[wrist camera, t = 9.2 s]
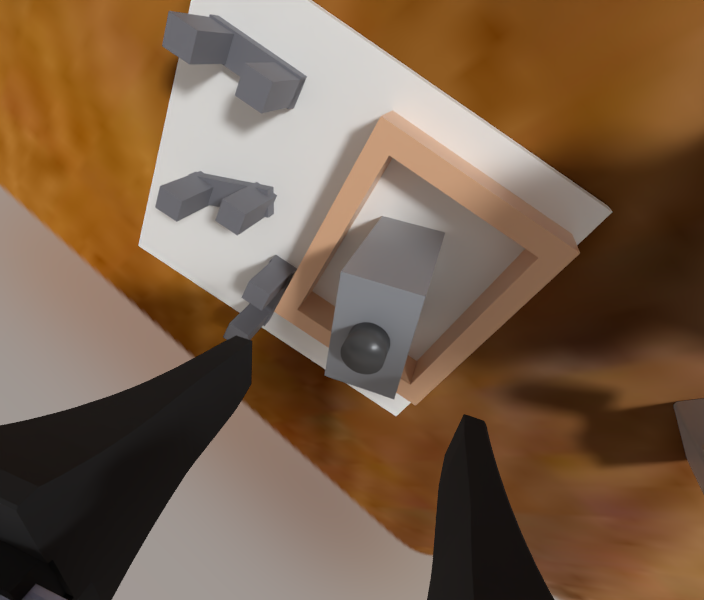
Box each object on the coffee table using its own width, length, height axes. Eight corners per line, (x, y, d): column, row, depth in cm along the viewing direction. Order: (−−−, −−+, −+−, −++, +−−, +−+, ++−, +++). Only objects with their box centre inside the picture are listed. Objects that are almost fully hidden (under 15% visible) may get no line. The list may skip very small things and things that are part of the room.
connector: (445, 232, 18) (421, 312, 12) (418, 319, 21) (388, 417, 15) (382, 215, 19) (330, 284, 13) (364, 303, 21) (315, 392, 16)
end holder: (572, 234, 17) (580, 253, 15) (421, 380, 23) (415, 405, 21) (392, 110, 16) (380, 115, 15) (290, 293, 23) (273, 311, 21)
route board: (607, 206, 16) (633, 240, 13) (398, 407, 26) (384, 455, 22) (218, -65, 16) (149, -95, 13) (147, 240, 25) (98, 266, 22)
